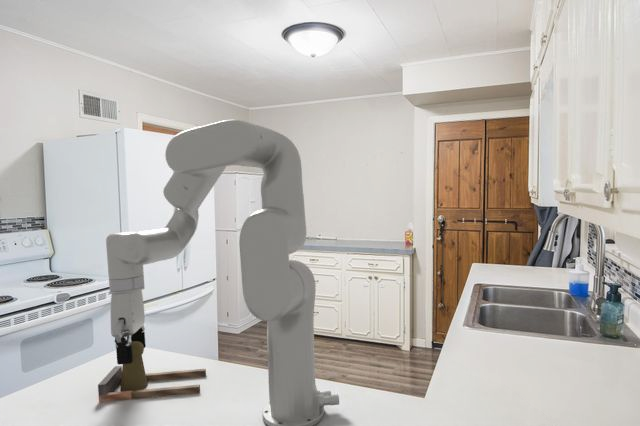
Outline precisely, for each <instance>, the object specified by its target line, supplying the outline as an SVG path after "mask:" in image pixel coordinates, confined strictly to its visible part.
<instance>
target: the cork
mask: <svg viewBox="0 0 640 426" xmlns="http://www.w3.org/2000/svg"><path fill="white" fill-rule="evenodd" d="M130 345H132V355H133V362H132V363H130V364H122V365H121V366H122V377H121V384H120V391H119V392H121V391H133V390H144V389H147V387H148V385H149V384H148V381H147V379H146V374H147V373H146V369H145V365H144V361H143V356H142V355H143V353H144V351H145V348H144V346H143V344H142V343H141V342H139V341H133V342H131V341H130Z"/></svg>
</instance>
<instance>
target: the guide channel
mask: <svg viewBox="0 0 640 426" xmlns="http://www.w3.org/2000/svg"><path fill="white" fill-rule="evenodd" d="M122 366H123V365H115V366H114V367H113V368H112V369H111V370H110V371H109V372H108V373H107V375H106V376H104V378H103V379H102V380H101V381H100V382H99V383H98V384H97V391H98V403H107V402H108V403H109V402H115V401H116V402H117V401H118V402H119V401H130V400H139V399H141V400H142V399H149V398H161V397H172V396H183V395H194V394H200V392H201V385H200V384H192V385H191V384H189V385H180V386H179V385H178V386H169V387H158V388H156V387H155V388H149V389H147V388H145V389H144V390H133V391H116V390H117V389H118V388H119V386H121V377H122ZM145 374H146V379H147V382H154V381H155V382H156V381H165V380H167V381H168V380H169V381H170V380H177V379H178V380H179V379H190V378H201V377H206V375H207V369H206V368H198V369H196V368H195V369H184V370H174V371H161V372H153V373H151V372H150V373H149V372H148V373H145Z"/></svg>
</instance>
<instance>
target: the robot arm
mask: <svg viewBox="0 0 640 426" xmlns="http://www.w3.org/2000/svg"><path fill="white" fill-rule="evenodd" d="M164 156H165V162H166V164H167V165H168V167H169V168H170V170H172V171H173V174H172V175H171V176H170V178H169V179H168V181H167V182H166V184H165V186H164V188H163V191H162V192H163V196H164V198H165V199H166V200H167V202H168V203H169V204H170V205H171V206H173V207H174V212H173V215H172V216H171V217H170V219H169V221H168V222H167V224H166V225H165V226H164V228H157V229H149V230H141V231H123V232H115V233H111V234H108V235H107V237H106V238H105V239H106V240H105V246H106V259H107V273H108V286H109V294H110V295H111V296H110V334H111V337H113V338H114V343H115V351H116V362H117V365H118V366H121V365H123V364H130V363H132V362H133V355H132V345H130V342H133V341H139V342H141V343H142V344H143V346H144V349H146V345H147V344H146V335H145V326H144V324H145V305H144V297H143V290H145V274H144V265H150V264H153V263H157V262H160V261H161V262H162V261H166V260H171V259H174V258H176V257H178V256H179V255H180V254H181V253H182V252H183V251H184V249H186V247H187V245H188V244H189V242H191V240H192V239H193V237H194V235H195V234H196V231H197V228H198V223H199V216H200V215H199V209H200V207H201V206H202V203H203V202H204V201H205V199H206V198H207V197H208V196H209V193H210V192H211V190H212V189H213V187H214V186H215V184H216V183H217V181H218V180H219V178H220V177H221V176H222V174H223V173H224V171H225V170H226V168H227V167H230V166H241V167H250V168H251V167H252V168H259V169H261V170H262V171H263V175H262V178H261V180H260V181H261V183H260V196H261V209H260V210H259V209H258V210H256V211H254V212H253V213H251V214H250V215H249V216H247V218H246V219H245V220H244V222H243V223H242V227H241V228H240V232H239V243H238V244H239V246H238V247H239V258H240V273H241V285H242V295H243V299H244V303H245V306H246V308H247V310H248V311H249V312H250V313H251V314H252V316H253V317H255V318H256V319H258V320H260V321H262V322H266V323H267V324H266V339H267V340H266V343H267V344H266V345H267V347H266V348H267V349H266V350H267V371H268V373H267V374H268V395H269V401H268V403H267V404H266V405H265V406H264V407H263V409H262V413H261V414H262V416H261V417H262V421H263V422H264V423H265V425H267V426H315V425H316V424H318V423H319V422H320V421H321V420H322V419H323V418H324V415H325V406H338V405H340V397H339V394H338V393H337V394H332V391H331V390H326V391H320V390H318V389H317V388H318V387H317V385H316V365H315V363H316V362H315V361H316V360H315V331H314V330H315V328H314V327H315V325H314V320H315V319H314V318H315V317H314V316H315V314H314V313H315V303H316V293H317V292H316V289H317V288H316V280H315V276H314V274H313V272H312V270H311V269H310V267H308V265H306V264H305V263H304V262H302V261H299V260H294V259H290V255H291V254H293V253H296V252H298V251H299V250H300V249H302V247H303V246H304V245H305V242H306V240H307V225H306V224H307V222H306V213H305V212H306V210H305V197H304V195H305V194H304V190H303V174H302V173H303V172H302V168H303V167H302V161H301V156H300V153H299V150H298V149H297V147H296V145H295V144H294V142H293V141H292V140H291V139H289V138H288V137H287V136H286V135H284V134H283V133H280V132H279V131H275V130H273V129H270V128H267V127H264V126H261V125H258V124H254V123H251V122H248V121H245V120H240V119H227V120H226V119H225V120H220V121H217V122H213V123H210V124H206V125H203V126H198V127H197V126H196V127H193V128H190V129H187V130H183V131H181V132H179V133H177V134H175V135H174V136H173V137H172V138H171V139H170V140H169V141H168V143H167V146H166V149H165V155H164Z"/></svg>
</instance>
